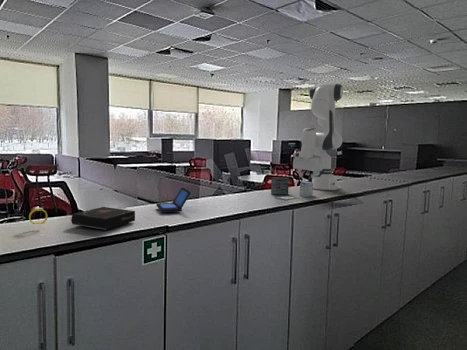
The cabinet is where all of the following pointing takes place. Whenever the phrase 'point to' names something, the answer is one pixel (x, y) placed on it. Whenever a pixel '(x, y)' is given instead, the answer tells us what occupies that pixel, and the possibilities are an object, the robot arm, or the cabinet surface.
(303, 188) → the medicine box
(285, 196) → the card
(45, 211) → the yellow ring
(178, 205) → the handheld game console
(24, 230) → the cabinet surface
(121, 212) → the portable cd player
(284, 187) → the small box
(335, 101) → the robot arm
